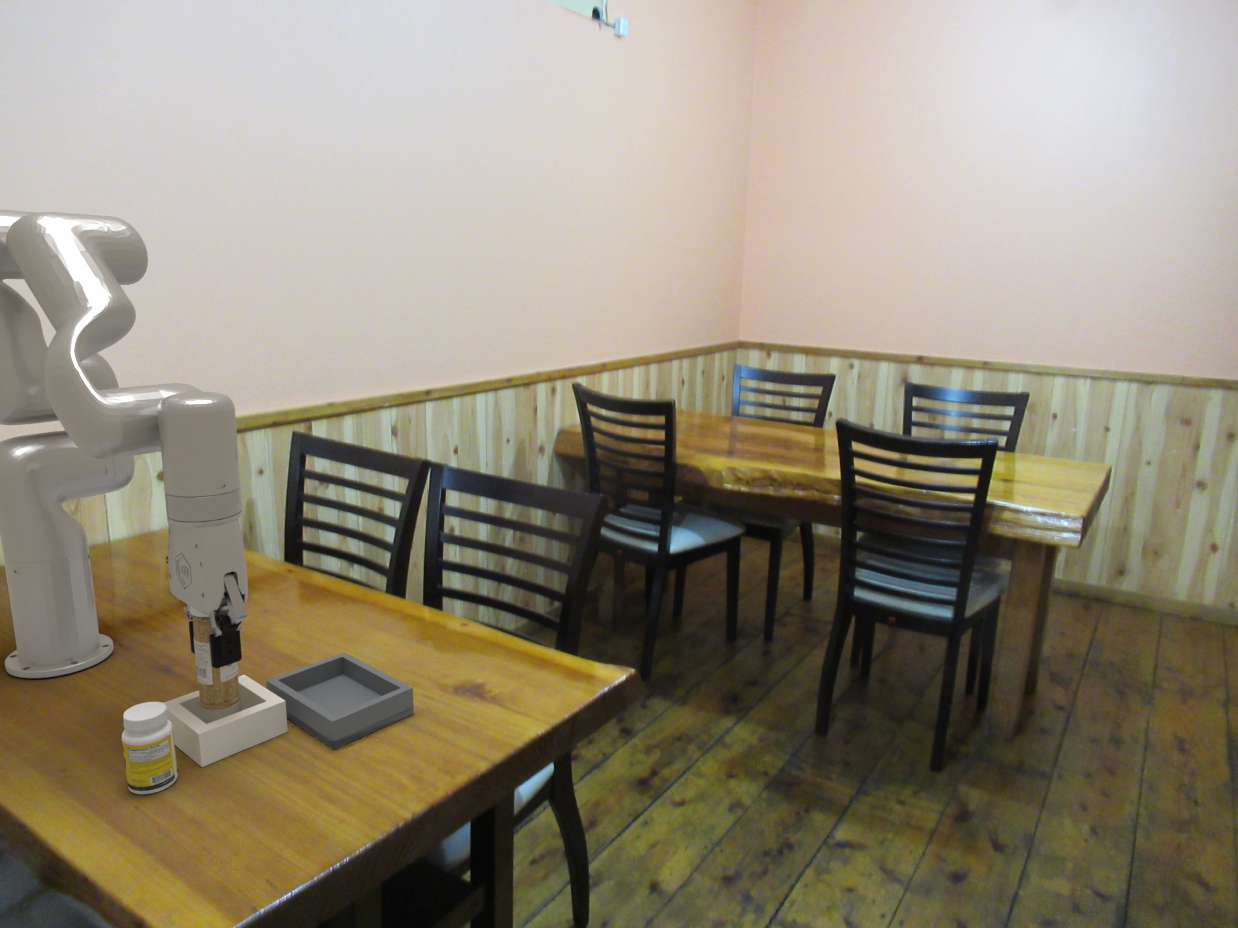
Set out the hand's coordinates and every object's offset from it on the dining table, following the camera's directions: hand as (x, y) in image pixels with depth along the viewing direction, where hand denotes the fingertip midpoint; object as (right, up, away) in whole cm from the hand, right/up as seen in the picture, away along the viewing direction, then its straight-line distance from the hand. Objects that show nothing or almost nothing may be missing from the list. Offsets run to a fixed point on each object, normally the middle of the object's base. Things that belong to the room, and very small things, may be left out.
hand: (216, 655), depth 97 cm
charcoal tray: (+12, -9, +8) cm, 16 cm away
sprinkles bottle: (0, -6, +1) cm, 6 cm away
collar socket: (0, -10, +2) cm, 10 cm away
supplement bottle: (-3, -12, -8) cm, 15 cm away
